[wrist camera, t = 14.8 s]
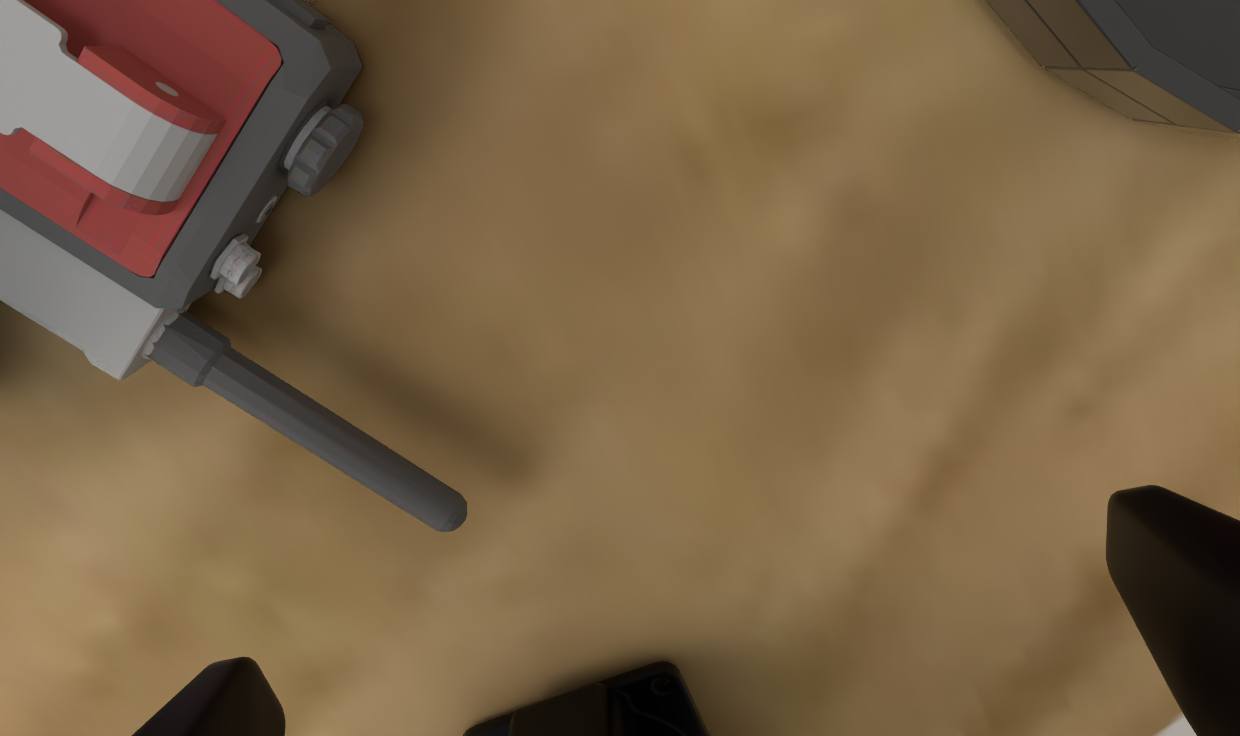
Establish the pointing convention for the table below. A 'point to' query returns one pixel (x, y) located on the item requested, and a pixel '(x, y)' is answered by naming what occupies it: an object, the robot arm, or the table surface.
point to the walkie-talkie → (176, 192)
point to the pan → (1141, 56)
